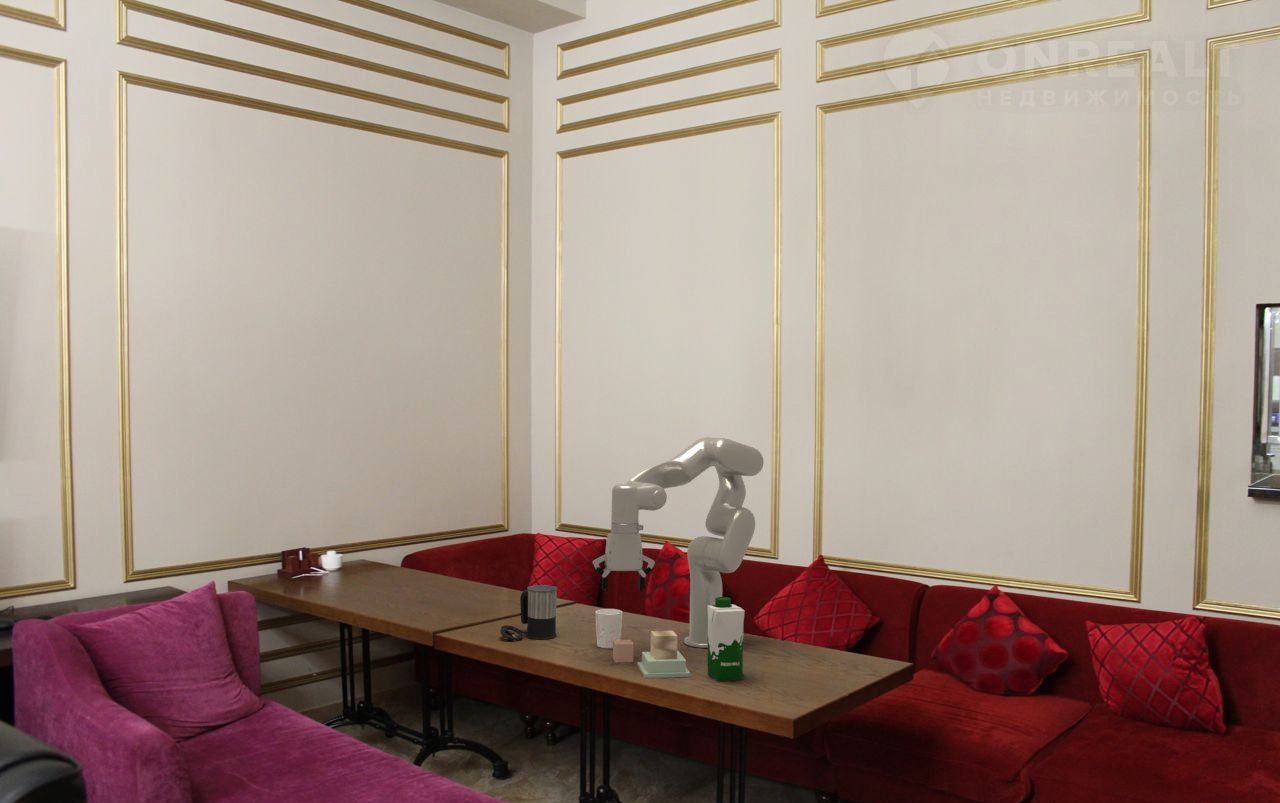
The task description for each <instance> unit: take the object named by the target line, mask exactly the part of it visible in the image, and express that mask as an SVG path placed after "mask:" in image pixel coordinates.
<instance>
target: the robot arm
mask: <svg viewBox="0 0 1280 803" xmlns="http://www.w3.org/2000/svg"><path fill="white" fill-rule="evenodd" d="M711 467H715V470H716V473H717V477H718V490H717V492H716V493H715V494H716V495H715V497H714V499H713V502H712V504H711V506H710V509H709V511H708V513H707V516H706V518H705V521H704V522H705V523H704V524H705V528H706V531H707V532H708V533H710V534H711V535H714V536H717V537H712V536H705V535H704V536H703V535H702V536H696V537H695V538H694V539H692V540H691V541H690V542H689V544H688V546H687V554H686V556H687V561H688V562H687V563H688V568H689V579H690V586H689V589H690V590H689V635H687V636H686V637H684V639H683V642H684V644H685V645H687V646H690V647H694V648H702V649H703V648H705V649H708V609H707V606H712V605H715V598H717V597H723V582H722V577H721V573H723V574H729V573H730V574H731V573H734V572H735V571H737V569H738V568H739V567H740V566H741V564H742V563H743V560H744V557H745V555H746V553H747V550H748V548H749V546H750V543H751V541H752V538H753V536H754V534H755V530H756V529H755V528H756V519H755V518H756V517H755V515H754V513H753V512H752V510H750V509H749V508H746V507H744V506H743V504H744V502H745V498H746V495H747V492H746V491H747V490H746V485H745V482H744V480H743V479H744V478H743V477H742V476H745V477H754V476H756V475H758V474H759V473H760V472H761V471H762V470H763V467H764V457H763V454H762V453H761V452H760V450H759V449H757V448H755V447H753V446H750V445H746V444H743V443H741V442H737V441H735V440H732V439H729V438H725V437H709V436H706V437H702V438H699V439H698V440H696V441H695V442H693V443H691V445H689V446H688V447H686V448H685V449H684V450H683V451H681V452H680V453H678V454H676V455H675V456H674V457H673V458H671V459H669V460H666V461H664V462H661V463H659V464H657V465H656V464H655V465H654V466H652V467H649V468H647V469H645V470H643V471H640V472H639V473H638V474H636V475H635V476H634V477H633V478H631V479H630V480H628V481H627V483H626V484H625V483H624V484H622V483H621V484H615V485H614V486H613V487H612V491H611V520H610V522H611V525H610V527H611V528H610V532H609V533H608V534H607V537H606V543H605V554H604V555H601V556H599V557H597V558H596V559H594V560H592V564H593V566H594V568H595V570H596V572H597V573H598V574H599V575H600V576H601V580H602V581H601V589H602V590H603V591H604V593H608V592H609V577H608V575H609V574H610V573H611V571H614V572H615V571H616V572H629V571H630V572H636V571H637V572H638V574H639V576H638V580H637V581H638V584H637V585H638V587H637V590H638V592H640V593H643V590H644V589H645V587H646V586H645V584H646V583H645V582H646V577H647V576H648V575H649V574H650V573H651V572H652V569H653V568H654V566H655V563H656V562H655V560H654V559H652V558H649V557H648V556H647V555H644V554H643V544H642V537H641V533H640V531H644V528H645V527H644V525H643V524H640V523H639V516H640V513H639V512H640V511H641V510H642V511H652V512H653V511H659V510H660V509H662V508H663V507H664V506H665V505H666V503H667V499H668V498H667V497H668V495H667V492H666V490H665V489H668V488H669V489H670V488H676V487H680V486H685V485H687V484H690V483H691V482H692V481H693V480H695V478H697V477H698V476H700V475H701V474H702V473H704V472H705V471H707V470H708V469H709V468H711ZM719 537H723V538H719ZM643 561H644V562H646V563H648V564H647V567H645V568H644V569H643V565H644V564H643ZM603 562H604V566H605V568H604V569H602V568H601V566H600V564H601V563H603Z"/></svg>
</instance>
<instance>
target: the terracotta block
mask: <svg viewBox="0 0 1280 803" xmlns="http://www.w3.org/2000/svg"><path fill="white" fill-rule="evenodd" d="M634 648H635V647H634V642H633V641H632V639H620V640H613V648H612V659H613V661H614V663H633V662H634Z"/></svg>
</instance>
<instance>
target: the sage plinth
mask: <svg viewBox="0 0 1280 803" xmlns="http://www.w3.org/2000/svg"><path fill="white" fill-rule="evenodd" d="M637 668H638V669H639V671H640V673H641V674H642V676H643V678H644V679H659V678H690V677H691V672H690V671H689V669H688V668H687V660H686V659H685V657H684V656H683V655H682V654H681V652H680V651H679V650H677V659H654V658H653V656H652V655H651V654H650V651H641V661H637Z"/></svg>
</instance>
